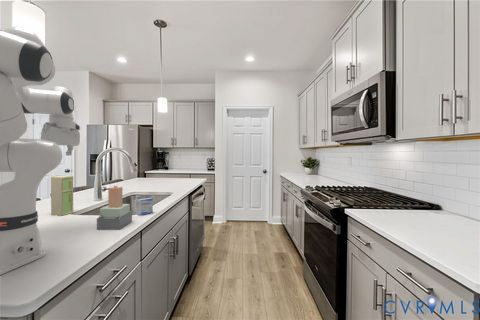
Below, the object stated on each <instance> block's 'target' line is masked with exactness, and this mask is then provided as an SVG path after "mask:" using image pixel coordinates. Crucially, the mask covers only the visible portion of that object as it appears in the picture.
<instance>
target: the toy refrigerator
mask: <svg viewBox="0 0 480 320" xmlns="http://www.w3.org/2000/svg"><path fill="white" fill-rule="evenodd" d="M73 213H74V176H73V175H55V176H51V177H50V214H51V216H55V215H57V217H62V216H66V215H70V214H73Z"/></svg>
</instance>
